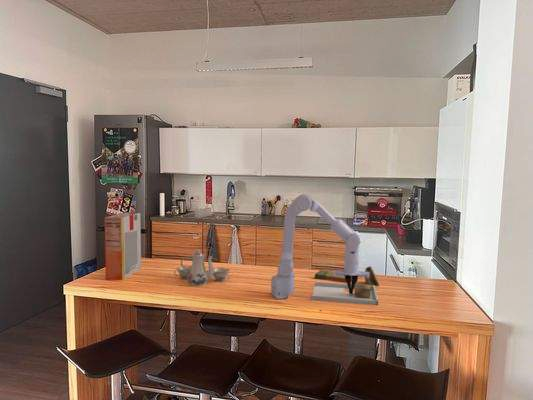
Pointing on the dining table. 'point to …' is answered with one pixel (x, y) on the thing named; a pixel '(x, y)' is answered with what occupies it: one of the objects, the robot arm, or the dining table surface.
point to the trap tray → (341, 294)
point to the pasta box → (122, 245)
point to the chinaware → (200, 270)
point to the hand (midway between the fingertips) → (350, 293)
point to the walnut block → (362, 291)
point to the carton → (330, 276)
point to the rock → (371, 277)
